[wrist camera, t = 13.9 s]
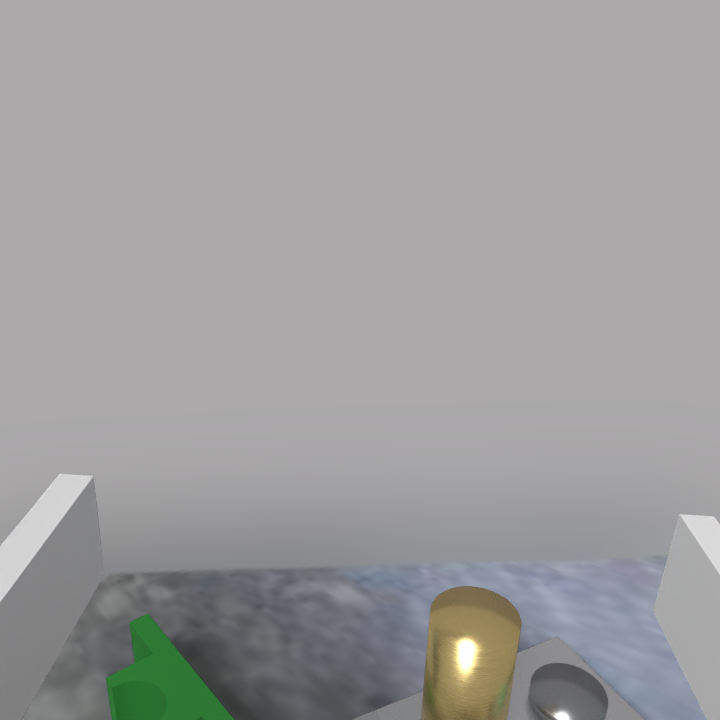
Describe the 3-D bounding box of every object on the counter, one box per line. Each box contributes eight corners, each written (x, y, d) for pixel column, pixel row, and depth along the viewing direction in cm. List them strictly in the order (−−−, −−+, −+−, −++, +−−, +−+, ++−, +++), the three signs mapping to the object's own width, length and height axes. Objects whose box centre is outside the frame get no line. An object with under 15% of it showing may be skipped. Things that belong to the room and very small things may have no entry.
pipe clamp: (93, 707, 39) (83, 643, 38) (155, 673, 42) (147, 612, 40) (189, 862, 32) (181, 792, 30) (258, 811, 34) (255, 742, 32)
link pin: (399, 774, 35) (413, 601, 32) (463, 744, 37) (484, 577, 33) (443, 845, 32) (464, 661, 28) (511, 809, 34) (540, 631, 30)
